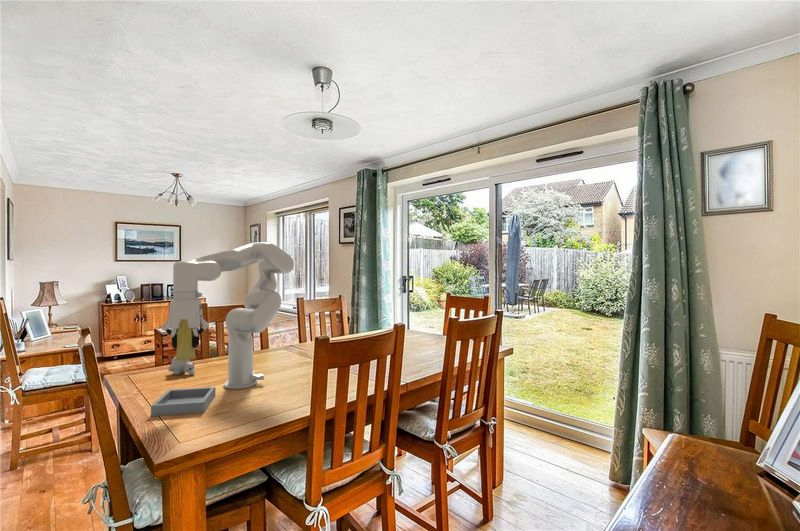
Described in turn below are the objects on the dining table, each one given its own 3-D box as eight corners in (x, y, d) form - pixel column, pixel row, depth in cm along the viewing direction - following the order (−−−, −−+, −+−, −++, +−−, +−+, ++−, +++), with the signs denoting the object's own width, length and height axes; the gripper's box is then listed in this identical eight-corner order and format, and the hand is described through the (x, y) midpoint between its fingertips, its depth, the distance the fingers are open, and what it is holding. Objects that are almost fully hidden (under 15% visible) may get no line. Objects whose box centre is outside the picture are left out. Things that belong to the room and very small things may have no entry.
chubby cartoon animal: (185, 383, 168) (190, 366, 167) (164, 370, 171) (170, 353, 170) (197, 378, 175) (203, 361, 174) (177, 366, 178) (183, 349, 177)
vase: (186, 361, 132) (186, 319, 132) (171, 360, 133) (171, 319, 133) (199, 356, 138) (199, 317, 138) (184, 355, 139) (184, 316, 139)
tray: (215, 396, 145) (215, 386, 145) (203, 412, 130) (204, 402, 130) (168, 399, 142) (168, 389, 142) (150, 416, 126) (150, 405, 126)
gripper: (214, 295, 141) (214, 344, 141) (162, 295, 137) (162, 346, 137) (209, 297, 133) (209, 348, 134) (154, 297, 130) (154, 351, 130)
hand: (185, 346), depth 135 cm, fingers closed on vase, 5 cm apart
